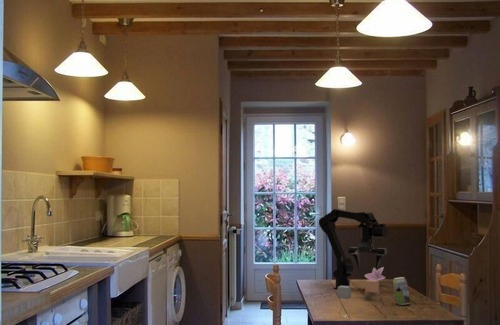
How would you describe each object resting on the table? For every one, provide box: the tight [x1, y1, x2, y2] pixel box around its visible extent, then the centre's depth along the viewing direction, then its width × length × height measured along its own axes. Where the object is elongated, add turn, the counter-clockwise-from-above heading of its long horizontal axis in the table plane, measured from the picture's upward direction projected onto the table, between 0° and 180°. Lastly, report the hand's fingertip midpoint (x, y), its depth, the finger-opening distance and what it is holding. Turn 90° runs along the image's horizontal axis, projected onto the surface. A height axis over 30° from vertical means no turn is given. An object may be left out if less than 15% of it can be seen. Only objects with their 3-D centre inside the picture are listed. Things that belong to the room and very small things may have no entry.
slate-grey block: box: [337, 285, 352, 299], centre depth 269 cm, size 5×5×5 cm
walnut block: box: [364, 290, 381, 302], centre depth 261 cm, size 6×6×4 cm
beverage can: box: [392, 276, 411, 306], centre depth 249 cm, size 6×7×12 cm
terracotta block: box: [364, 279, 380, 293], centre depth 262 cm, size 5×5×5 cm
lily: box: [364, 266, 386, 284], centre depth 304 cm, size 12×12×10 cm
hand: (367, 267), depth 283 cm, fingers open, 9 cm apart
